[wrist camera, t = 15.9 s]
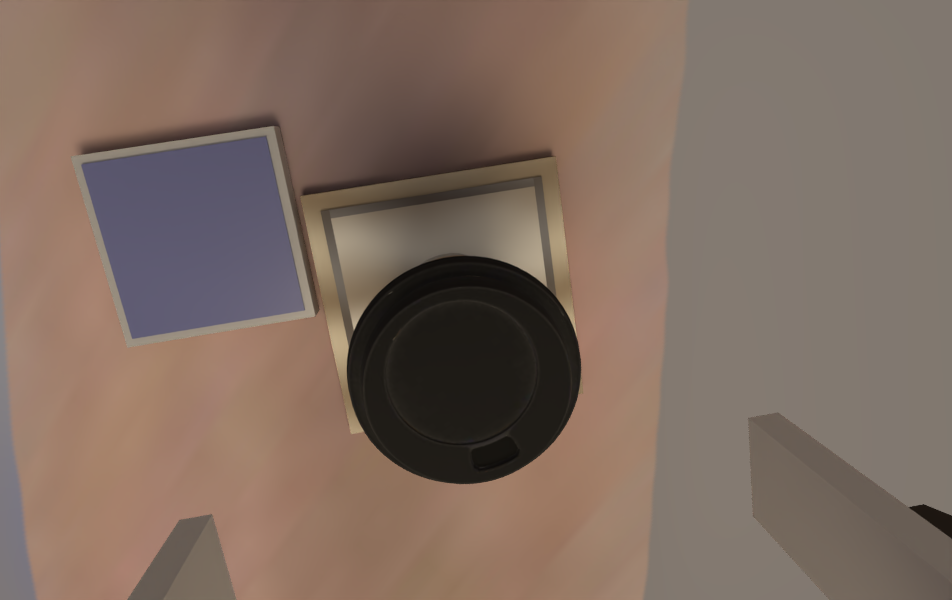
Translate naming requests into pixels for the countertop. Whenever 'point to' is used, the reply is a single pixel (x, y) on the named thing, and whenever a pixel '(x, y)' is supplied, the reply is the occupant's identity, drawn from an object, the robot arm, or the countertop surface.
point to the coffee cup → (463, 369)
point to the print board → (432, 237)
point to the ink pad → (198, 235)
